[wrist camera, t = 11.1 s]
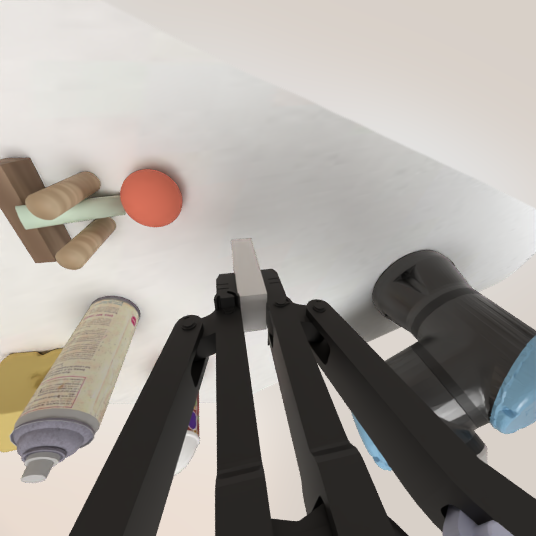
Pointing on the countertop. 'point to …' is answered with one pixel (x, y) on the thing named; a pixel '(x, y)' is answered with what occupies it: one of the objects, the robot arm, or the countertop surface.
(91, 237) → the pin
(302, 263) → the countertop surface
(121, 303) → the aerosol can
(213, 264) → the countertop surface
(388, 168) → the countertop surface
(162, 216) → the ball
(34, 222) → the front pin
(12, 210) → the back wall
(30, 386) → the yellow box
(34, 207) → the pin
